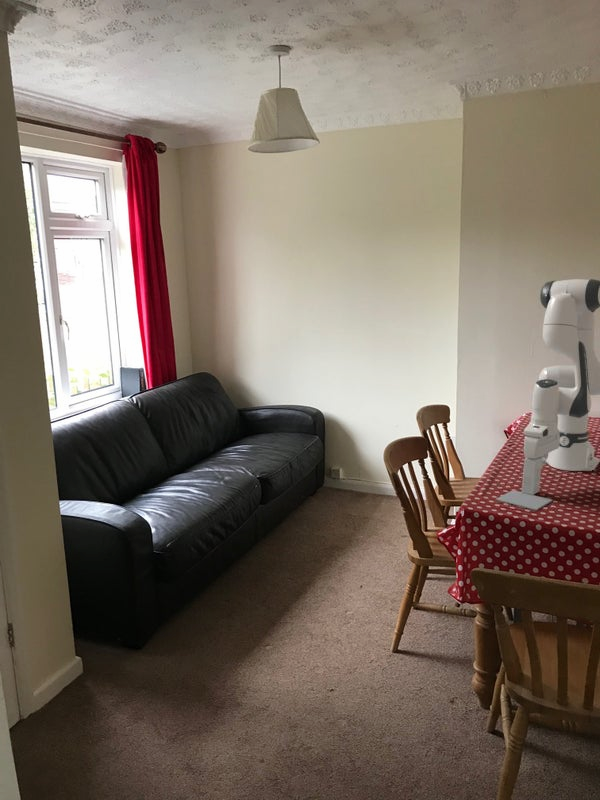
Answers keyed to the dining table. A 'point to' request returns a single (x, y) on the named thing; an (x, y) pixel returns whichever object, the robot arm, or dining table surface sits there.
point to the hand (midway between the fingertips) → (541, 465)
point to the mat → (524, 500)
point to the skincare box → (531, 475)
